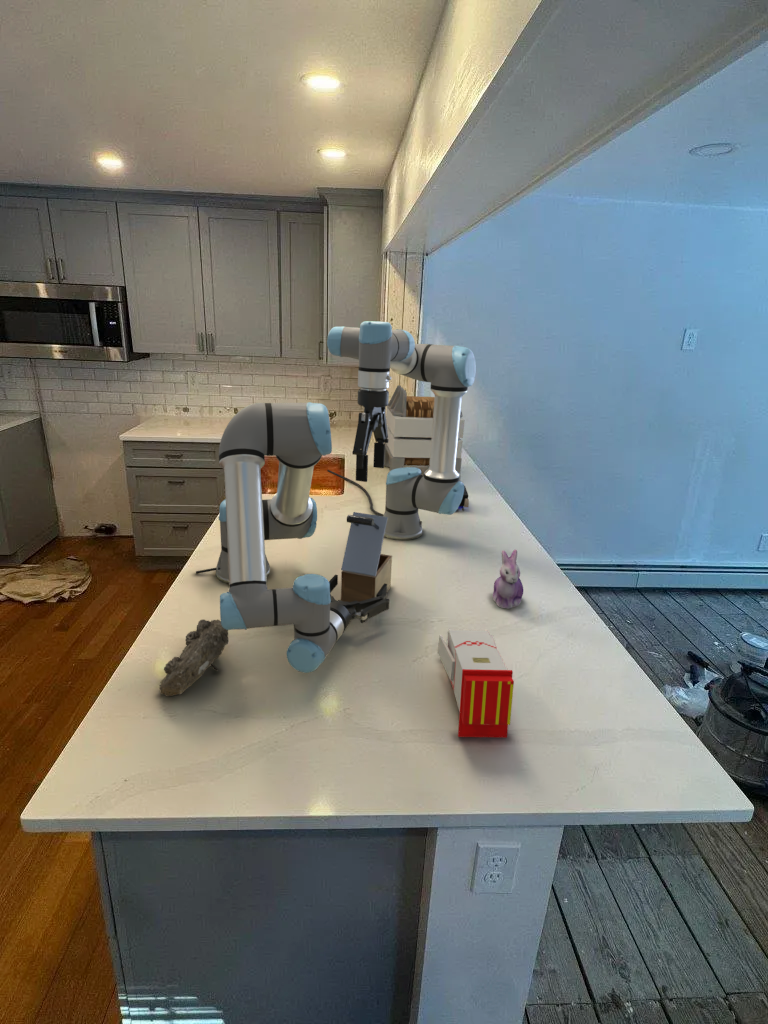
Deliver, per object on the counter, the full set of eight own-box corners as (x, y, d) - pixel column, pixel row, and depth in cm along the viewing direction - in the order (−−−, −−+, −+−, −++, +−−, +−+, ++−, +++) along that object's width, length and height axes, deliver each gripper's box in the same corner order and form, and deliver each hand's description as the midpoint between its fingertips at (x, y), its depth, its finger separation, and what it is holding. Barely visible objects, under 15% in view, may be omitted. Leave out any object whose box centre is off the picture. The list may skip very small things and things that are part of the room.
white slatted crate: (382, 463, 289) (386, 382, 275) (445, 464, 293) (451, 384, 279) (390, 482, 257) (394, 392, 243) (460, 483, 261) (468, 394, 247)
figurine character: (468, 516, 224) (463, 500, 237) (471, 498, 221) (465, 483, 234) (452, 515, 224) (447, 499, 237) (453, 498, 220) (449, 482, 234)
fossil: (183, 622, 131) (229, 592, 126) (212, 650, 134) (258, 621, 129) (138, 690, 111) (189, 657, 106) (173, 721, 114) (225, 691, 109)
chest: (359, 582, 164) (360, 550, 160) (390, 587, 161) (392, 555, 158) (340, 605, 150) (341, 571, 147) (374, 612, 148) (375, 577, 144)
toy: (488, 613, 130) (523, 677, 101) (484, 667, 133) (517, 744, 104) (435, 612, 130) (455, 676, 101) (432, 666, 133) (451, 743, 103)
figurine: (505, 613, 150) (512, 561, 145) (482, 596, 158) (488, 546, 153) (533, 606, 154) (540, 555, 149) (509, 589, 163) (515, 541, 158)
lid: (354, 512, 150) (344, 504, 142) (387, 517, 148) (379, 509, 139) (341, 570, 147) (331, 565, 139) (375, 576, 145) (366, 571, 136)
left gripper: (280, 627, 134) (316, 588, 153) (381, 648, 127) (405, 605, 147) (279, 599, 132) (316, 563, 151) (382, 619, 125) (407, 579, 144)
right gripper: (371, 396, 124) (368, 489, 131) (402, 384, 147) (398, 464, 154) (339, 394, 126) (338, 485, 133) (374, 382, 149) (372, 460, 156)
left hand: (360, 583), depth 149 cm, fingers open, 13 cm apart
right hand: (370, 474), depth 144 cm, fingers open, 13 cm apart
